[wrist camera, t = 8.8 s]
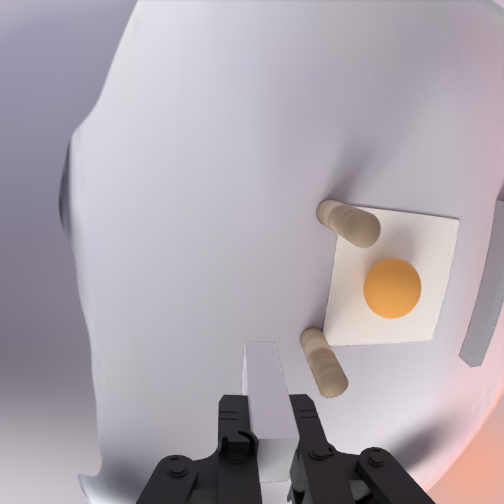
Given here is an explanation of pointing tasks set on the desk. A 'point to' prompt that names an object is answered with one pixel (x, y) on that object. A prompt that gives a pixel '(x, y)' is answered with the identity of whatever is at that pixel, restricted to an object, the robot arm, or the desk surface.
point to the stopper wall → (487, 296)
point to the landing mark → (387, 246)
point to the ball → (392, 288)
